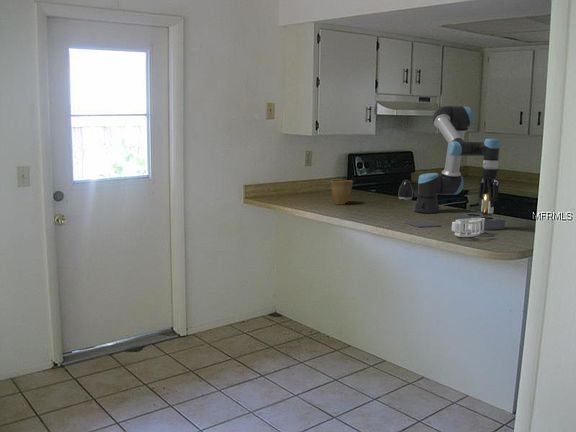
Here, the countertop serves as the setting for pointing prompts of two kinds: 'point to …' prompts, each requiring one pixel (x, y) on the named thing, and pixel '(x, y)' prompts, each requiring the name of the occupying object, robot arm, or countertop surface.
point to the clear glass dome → (405, 190)
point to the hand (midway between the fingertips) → (487, 212)
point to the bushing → (486, 204)
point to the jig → (489, 222)
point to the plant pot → (341, 190)
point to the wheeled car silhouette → (468, 227)
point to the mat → (423, 224)
